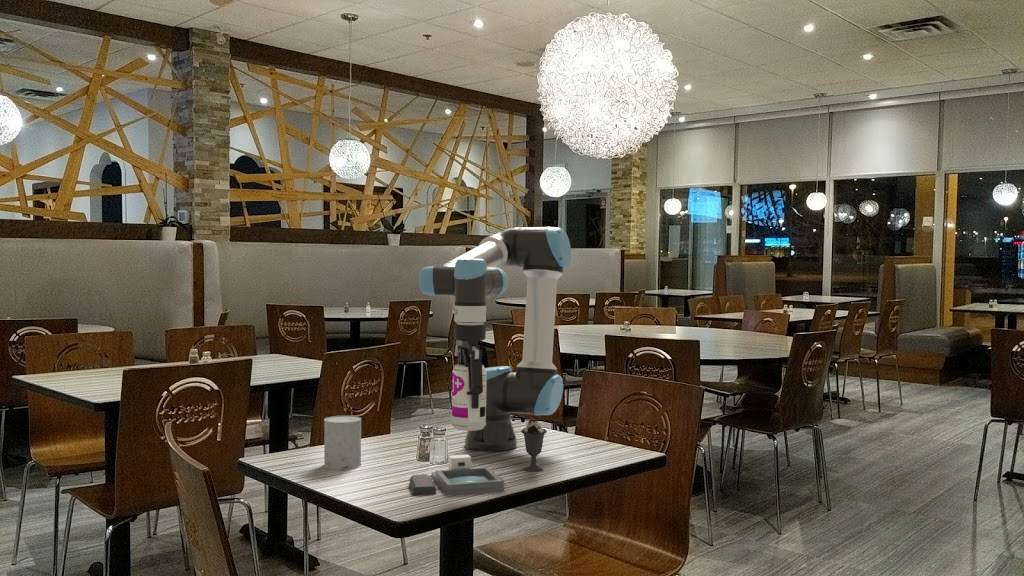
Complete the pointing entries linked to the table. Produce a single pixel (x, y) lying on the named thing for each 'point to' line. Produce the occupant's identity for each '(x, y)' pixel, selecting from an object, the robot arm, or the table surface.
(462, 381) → the supplement can
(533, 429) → the sundae
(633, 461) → the table surface
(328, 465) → the gray cylinder
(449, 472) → the charging dock
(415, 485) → the dark grey rounded block
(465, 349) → the robot arm
